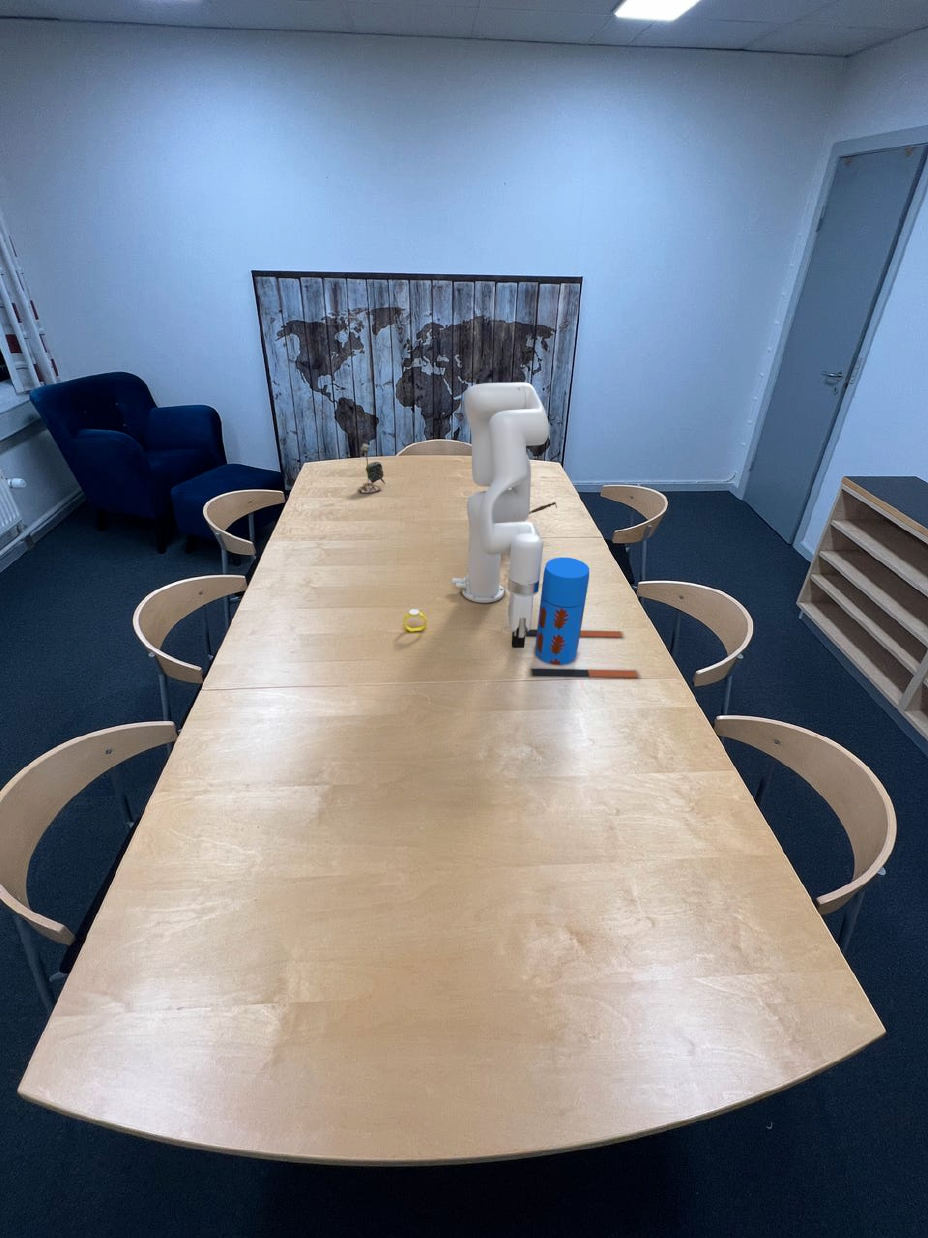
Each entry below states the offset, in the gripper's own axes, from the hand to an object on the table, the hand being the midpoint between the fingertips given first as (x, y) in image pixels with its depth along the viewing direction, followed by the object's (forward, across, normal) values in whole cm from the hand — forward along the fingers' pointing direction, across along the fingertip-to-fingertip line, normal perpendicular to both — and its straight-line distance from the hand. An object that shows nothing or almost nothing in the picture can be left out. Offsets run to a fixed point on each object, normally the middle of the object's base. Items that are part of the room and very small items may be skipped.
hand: (517, 646), depth 158 cm
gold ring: (+2, -9, -27) cm, 29 cm away
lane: (+2, 0, +16) cm, 16 cm away
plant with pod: (+1, -111, -52) cm, 122 cm away
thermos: (+2, 0, +10) cm, 10 cm away
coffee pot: (+2, -65, +7) cm, 66 cm away
